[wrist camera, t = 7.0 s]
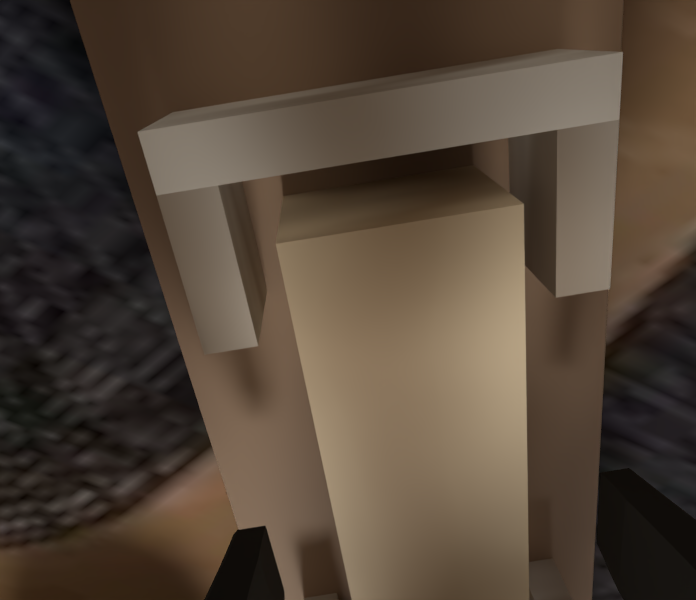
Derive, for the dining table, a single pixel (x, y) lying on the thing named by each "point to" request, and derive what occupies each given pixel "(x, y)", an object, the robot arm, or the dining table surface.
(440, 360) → the slat
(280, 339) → the endcap rail
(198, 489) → the dining table surface
